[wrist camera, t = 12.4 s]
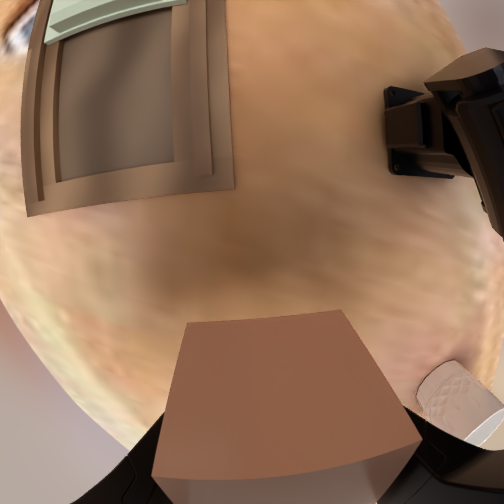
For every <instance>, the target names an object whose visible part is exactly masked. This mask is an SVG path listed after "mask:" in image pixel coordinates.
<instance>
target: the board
mask: <svg viewBox="0 0 504 504" xmlns="http://www.w3.org/2000/svg"><path fill="white" fill-rule="evenodd" d="M53 1H54V0H40V2H39V6H38V9H37V13H36V17H35V20H34V24H33V29H32V33H31V38H30V42H29V48H28V53H27V59H26V66H25V73H24V81H23V92H22V105H21V162H22V177H23V187H24V196H25V204H26V211H27V217H31V216H36V215H41V214H46V213H51V212H57V211H62V210H68V209H73V208H79V207H85V206H92V205H98V204H105V203H111V202H118V201H126V200H133V199H141V198H149V197H158V196H167V195H176V194H186V193H196V192H208V191H220V190H234V189H235V186H234V171H233V154H232V137H231V120H230V101H229V82H228V61H227V39H226V15H225V0H187V4H181V5H175V6H169V7H164V8H159V9H154V10H149V11H145V12H141V13H137V14H133V15H129V16H125V17H122V18H118V19H115V20H112V21H109V22H106V23H103V24H100V25H97V26H94V27H91V28H88V29H86V30H83V31H80V32H78V33H75V34H73V35H70V36H68V37H66V38H63V39H61V40H59V41H57V42H55V43H52V44H50V45H47V44H45V43H44V40H45V35H46V30H47V25H48V21H49V17H50V13H51V9H52V5H53Z"/></svg>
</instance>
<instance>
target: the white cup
mask: <svg viewBox="0 0 504 504" xmlns="http://www.w3.org/2000/svg"><path fill="white" fill-rule="evenodd" d="M416 397H417V400H418V403H419V404H420V406H421V408H422V409H423V411H424V413H425V417H426V419H427V420H428V422H430V423H431V424H433V425H435V426H436V427H438V428H440V429H441V430H443V431H445V432H447V433H449V434H451V435H453V436H455V437H457V438H459V439H461V440H464V441H466V442H468V443H470V444H473V445H475V446H477V447H479V446H480V445H481V444H482V443H483V442H484V441H485V440H487V439H488V438H489V437H490V436H491V434H492V433H493V432H494V431H495V430H496V429H497V428H498V426H499V425H500V424H501V423H502V421H503V419H504V405H503V404H502V403H501V402H500V401H499V400H498V398H497V397H496V396H495V395H494V394H493V393H492V392H491V391H490V390H489V389H488V388H487V387H486V386H485V385H483V384H482V383H481V382H480V381H479V380H478V379H477V378H476V377H475V376H474V375H473V374H472V373H470V372H468V371H467V370H466V369H465V368H464V367H463V366H462V365H461V364H460V363H459V362H457V361H455V360H453V361H448V362H445V363H444V364H442V365H440V366H439V367H437V368H436V369H434V370H433V371H432V372H431V373H430V374H429V375H428V376H427V377H426V378H425V380H424V381H423V382H422V384H421V385H420V387H419V389H418V392H417V395H416Z"/></svg>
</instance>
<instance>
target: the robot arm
mask: <svg viewBox="0 0 504 504" xmlns="http://www.w3.org/2000/svg"><path fill="white" fill-rule="evenodd" d="M423 83H424V84H425V86H426V88H427V89H428V91H431V93H427V94H424V93H420V92H416V91H412V90H407V89H403V88H398V87H393V86H390V87H387V88H386V89H385V90H384V95H385V105H386V111H385V122H386V138H387V145H388V152H389V170H390V172H391V173H392V174H394V175H407V176H423V177H436V178H447V179H453V178H454V176H455V175H457V176H463V177H469V178H474V180H475V183H476V186H477V189H478V191H479V194H480V197H481V200H482V202H481V204H482V207H483V210H484V211H485V212H486V213H487V214H488V217H489V220H490V223H491V225H492V228H493V229H494V230H495V231H496V232H497V233H498V234H499V235H500V236H501V237H503V241H504V51H500V50H495V49H490V48H483V49H480V50H477V51H474V52H472V53H469V54H466V55H464V56H461V57H460V58H458V59H456V60H455V61H454V62H452V63H451V64H449V65H448V66H446V67H445V68H443V69H442V70H440V71H439V72H437V73H436V74H435V75H433V76H432V77H430V78H429V79H427V80H426V81H424V82H423ZM390 91H391V92H392V93H393V96H392V95H391V94H390ZM395 165H397V170H395ZM403 407H404V409H405V410H406V412H407V414H408V415H409V417H410V419H411V420H412V422H413V424H414V425H415V427H416V429H417V430H418V432H419V434H420V436H421V437H422V441H421V443H420V444H419V446H418V447H417V449H416V450H415V452H414V454H413V455H412V457H411V458H410V459H409V461H408V462H407V464H406V465H405V467H404V468H403V469H402V471H401V472H400V473H399V475H398V476H397V478H396V479H395V480H394V481H393V483H392V484H391V485H390V487H389V488H388V489H387V490H386V492H385V493H384V494H383V495H382V496H381V498H380V499H379V500H378V501H377V504H504V450H497V451H492V450H486V449H482V448H480V447H477V446H475V445H473V444H470V443H468V442H466V441H464V440H461V439H459V438H457V437H455V436H453V435H451V434H449V433H447V432H445V431H443V430H441V429H440V428H438V427H436V426H435V425H433V424H431V423H430V422H428V421H426V420H425V419H423V418H422V417H420V416H419V415H417V414H416V413H414V412H412V411H411V410H409V409H408V408H406V407H405V406H403ZM164 413H165V412H164ZM164 413H163V414H162V415H161V416H160V417H159V419H158V420H157V421H156V422H155V423H154V424H153V426H152V427H151V428H150V429H149V430H148V431H147V433H146V434H145V435H144V436H143V437H142V438H141V439H140V441H139V442H138V443H137V444H136V445H135V446H134V447H133V449H132V450H131V451H130V452H129V453H128V454H127V455H128V456H125V457H124V459H123V460H122V461H121V462H120V463H119V464H118V465H117V466H116V467H115V468H114V469H113V470H112V471H111V472H110V473H109V474H108V475H107V476H106V477H105V478H104V479H102V480H101V481H100V482H99V483H98V484H96V485H95V486H94V487H93V488H91V489H90V490H89V491H88V492H86V493H85V494H84V495H83V496H81V497H80V498H79V499H77V500H76V501H74V502H72V503H70V504H174V503H173V502H172V501H171V500H170V499H169V498H168V496H167V495H166V494H165V493H164V491H163V490H162V489H161V488H160V486H159V485H158V484H157V483H156V481H155V480H154V479H153V477H152V476H151V475H152V470H153V465H154V460H155V455H156V450H157V445H158V440H159V436H160V431H161V427H162V422H163V418H164Z"/></svg>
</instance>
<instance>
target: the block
mask: <svg viewBox="0 0 504 504" xmlns="http://www.w3.org/2000/svg"><path fill="white" fill-rule="evenodd" d="M421 441H422V437H421V436H420V434H419V432H418V430H417V429H416V427H415V425H414V424H413V422H412V420H411V419H410V417H409V415H408V414H407V412H406V410H405V409H404V407H403V405H402V404H401V402H400V400H399V399H398V397H397V395H396V394H395V392H394V391H393V389H392V387H391V386H390V384H389V383H388V381H387V379H386V378H385V376H384V375H383V373H382V371H381V370H380V368H379V367H378V365H377V364H376V362H375V360H374V359H373V357H372V356H371V354H370V353H369V351H368V350H367V348H366V347H365V345H364V344H363V342H362V340H361V339H360V337H359V336H358V334H357V333H356V331H355V330H354V328H353V327H352V325H351V324H350V322H349V321H348V319H347V318H346V316H345V315H344V313H343V312H342V310H334V311H327V312H318V313H310V314H301V315H291V316H281V317H271V318H259V319H246V320H232V321H216V322H196V323H187V326H186V329H185V333H184V337H183V340H182V344H181V348H180V352H179V356H178V360H177V364H176V368H175V372H174V376H173V380H172V384H171V388H170V392H169V396H168V400H167V405H166V409H165V413H164V418H163V422H162V427H161V431H160V436H159V440H158V445H157V450H156V455H155V460H154V465H153V470H152V475H151V476H152V477H153V479H154V480H155V481H156V483H157V484H158V485H159V486H160V488H161V489H162V490H163V491H164V493H165V494H166V495H167V496H168V498H169V499H170V500H171V501H172V502H173V503H174V504H375V503H376V502H377V501H378V500H379V499H380V498H381V496H382V495H383V494H384V493H385V492H386V490H387V489H388V488H389V487H390V485H391V484H392V483H393V481H394V480H395V479H396V478H397V476H398V475H399V473H400V472H401V471H402V469H403V468H404V467H405V465H406V464H407V462H408V461H409V459H410V458H411V457H412V455H413V454H414V452H415V450H416V449H417V447H418V446H419V444H420V443H421Z"/></svg>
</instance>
